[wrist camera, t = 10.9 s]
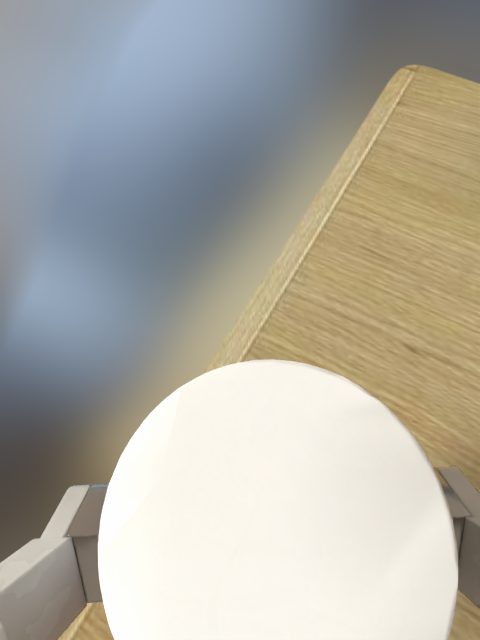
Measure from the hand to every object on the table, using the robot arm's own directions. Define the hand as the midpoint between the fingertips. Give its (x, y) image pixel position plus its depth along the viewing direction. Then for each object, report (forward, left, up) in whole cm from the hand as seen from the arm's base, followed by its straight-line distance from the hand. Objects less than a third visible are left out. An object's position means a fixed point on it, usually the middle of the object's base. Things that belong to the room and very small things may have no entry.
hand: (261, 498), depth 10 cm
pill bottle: (0, -1, -6) cm, 6 cm away
